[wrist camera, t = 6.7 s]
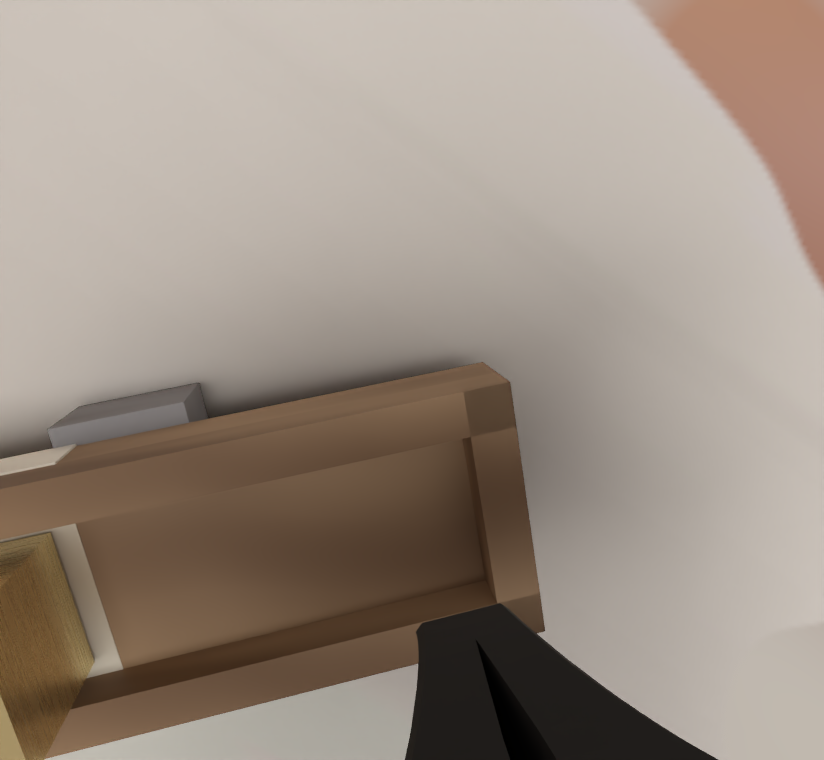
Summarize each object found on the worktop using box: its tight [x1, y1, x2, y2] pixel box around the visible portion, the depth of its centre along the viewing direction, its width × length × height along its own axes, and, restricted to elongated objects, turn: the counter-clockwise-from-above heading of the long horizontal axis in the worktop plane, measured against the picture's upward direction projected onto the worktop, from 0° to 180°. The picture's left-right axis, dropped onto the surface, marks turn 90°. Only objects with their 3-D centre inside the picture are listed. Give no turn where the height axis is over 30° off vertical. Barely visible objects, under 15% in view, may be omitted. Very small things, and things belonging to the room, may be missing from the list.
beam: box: [0, 362, 545, 759], centre depth 15 cm, size 7×17×4 cm, turn 100°
